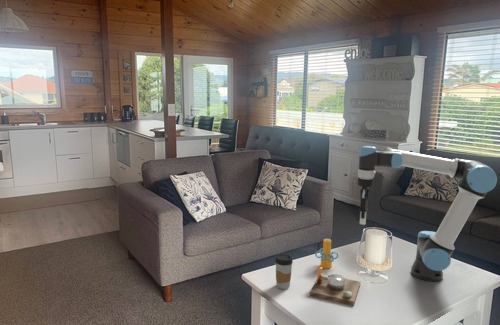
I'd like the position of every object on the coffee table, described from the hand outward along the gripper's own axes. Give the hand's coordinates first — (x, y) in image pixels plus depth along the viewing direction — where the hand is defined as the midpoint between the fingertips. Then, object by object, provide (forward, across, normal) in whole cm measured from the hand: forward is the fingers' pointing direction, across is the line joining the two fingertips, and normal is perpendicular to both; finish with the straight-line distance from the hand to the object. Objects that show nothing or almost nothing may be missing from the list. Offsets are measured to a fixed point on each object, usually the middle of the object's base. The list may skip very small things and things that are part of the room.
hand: (362, 223), depth 193 cm
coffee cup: (+29, -26, +32) cm, 50 cm away
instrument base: (+28, -19, +8) cm, 35 cm away
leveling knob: (+26, -19, +11) cm, 34 cm away
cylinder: (+29, +5, +18) cm, 34 cm away
